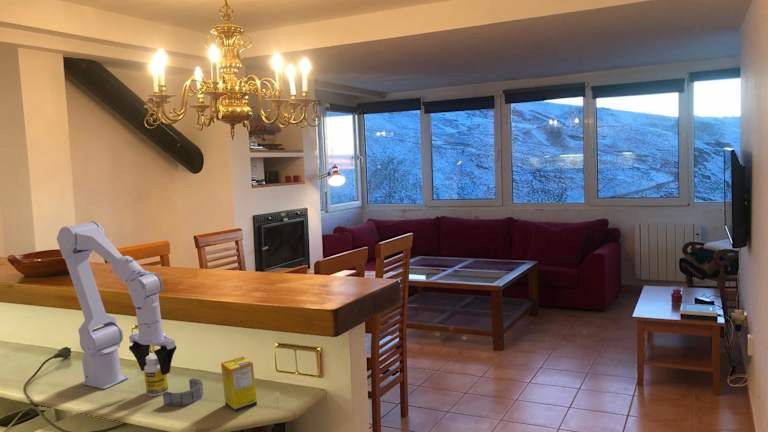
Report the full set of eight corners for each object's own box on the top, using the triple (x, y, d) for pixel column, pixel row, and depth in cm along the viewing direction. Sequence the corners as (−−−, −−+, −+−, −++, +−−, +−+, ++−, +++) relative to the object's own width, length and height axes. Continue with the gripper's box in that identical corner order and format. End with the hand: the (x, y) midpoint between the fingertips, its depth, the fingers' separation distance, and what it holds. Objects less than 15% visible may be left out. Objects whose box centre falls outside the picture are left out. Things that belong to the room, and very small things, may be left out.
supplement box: (247, 397, 157) (243, 355, 156) (257, 404, 153) (253, 362, 151) (224, 404, 154) (220, 362, 152) (234, 412, 149) (230, 369, 148)
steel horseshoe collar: (164, 404, 156) (162, 393, 155) (193, 389, 164) (192, 378, 164) (182, 409, 153) (180, 397, 152) (211, 392, 161) (210, 381, 161)
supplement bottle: (145, 398, 160) (141, 361, 159) (147, 389, 165) (143, 354, 164) (168, 394, 162) (164, 358, 160) (169, 386, 167) (165, 351, 165)
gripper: (181, 319, 161) (187, 369, 163) (142, 313, 168) (148, 362, 170) (160, 327, 155) (166, 380, 157) (120, 322, 161) (126, 372, 164)
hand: (155, 371), depth 163 cm, fingers open, 7 cm apart
